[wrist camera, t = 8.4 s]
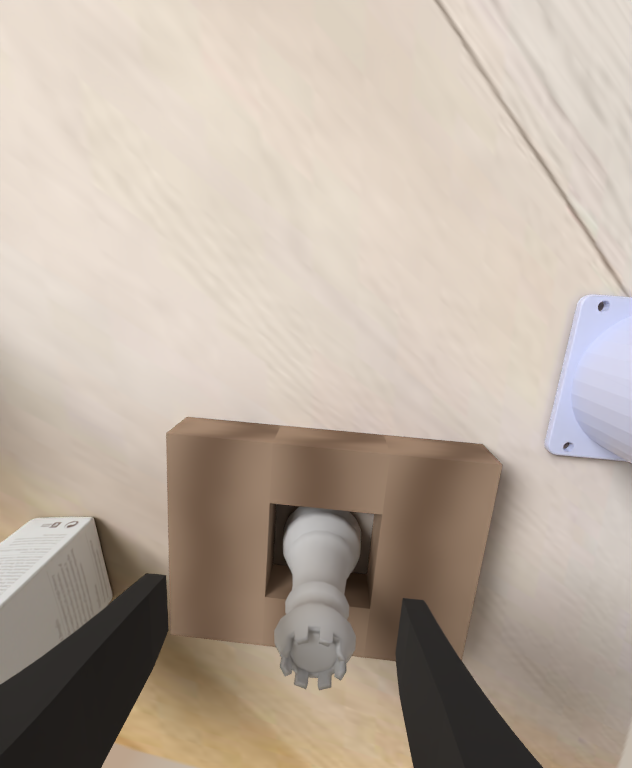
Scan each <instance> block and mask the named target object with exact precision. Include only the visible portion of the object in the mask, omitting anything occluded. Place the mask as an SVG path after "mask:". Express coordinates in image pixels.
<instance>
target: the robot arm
mask: <svg viewBox="0 0 632 768" xmlns="http://www.w3.org/2000/svg"><path fill="white" fill-rule="evenodd" d="M600 302H603V303H604V307H603V309H602V310H601V311H599V310H598V305H599V303H600ZM567 442H569V446H568V447H567V448H565V449H563V446H564V444H565V443H567ZM545 448H546V449H547V450H548V451H549V452H550V453H552V454H555V455H564V456H574V457H585V458H596V459H607V460H618V461H628V462H630V463H631V464H632V297H620V296H607V295H585V296H583V297H582V298H581V299H580V300H579V301H578V304H577V307H576V311H575V315H574V320H573V324H572V328H571V332H570V337H569V341H568V345H567V350H566V354H565V358H564V362H563V367H562V371H561V375H560V379H559V384H558V388H557V392H556V397H555V401H554V405H553V409H552V414H551V418H550V422H549V426H548V431H547V435H546V439H545ZM167 632H168V610H167V588H166V575H158V574H148V573H147V574H145V575H144V576H143V577H142V578H140V579H139V580H138V581H137V582H135V583H134V584H133V585H132V586H130V587H129V588H128V589H127V590H126V591H124V592H123V593H122V594H121V595H120V596H118V597H117V598H116V599H115V600H114V601H112V602H111V603H110V604H109V605H108V606H106V607H105V608H104V609H103V610H101V611H100V612H99V613H98V614H96V615H95V616H94V617H93V618H91V619H90V620H89V621H88V622H86V623H85V624H84V625H83V626H81V627H80V628H79V629H78V630H76V631H75V632H74V633H72V634H71V635H70V636H68V637H67V638H66V639H64V640H63V641H62V642H60V643H59V644H58V645H56V646H55V647H54V648H52V649H51V650H50V651H48V652H47V653H46V654H44V655H43V656H42V657H40V658H39V659H37V660H36V661H35V662H33V663H32V664H30V665H29V666H27V667H26V668H24V669H23V670H22V671H20V672H19V673H17V674H16V675H14V676H13V677H11V678H9V679H8V680H6V681H5V682H3V683H2V684H0V768H101V767H102V765H103V763H104V761H105V759H106V757H107V755H108V753H109V752H110V750H111V748H112V746H113V744H114V742H115V740H116V738H117V736H118V734H119V733H120V731H121V729H122V727H123V725H124V723H125V721H126V719H127V717H128V716H129V714H130V712H131V710H132V708H133V706H134V704H135V702H136V700H137V698H138V696H139V695H140V693H141V691H142V689H143V687H144V685H145V683H146V681H147V679H148V677H149V675H150V673H151V671H152V669H153V667H154V665H155V662H156V660H157V658H158V655H159V653H160V650H161V648H162V645H163V643H164V640H165V637H166V635H167ZM395 655H396V666H397V676H398V686H399V695H400V700H401V706H402V711H403V716H404V721H405V726H406V731H407V737H408V742H409V747H410V752H411V757H412V762H413V767H414V768H543V767H542V766H541V765H540V763H539V762H538V761H537V760H536V759H535V758H534V756H533V755H532V754H531V753H530V752H529V751H528V749H527V748H526V747H525V746H524V744H523V743H522V742H521V741H520V740H519V738H518V737H517V736H516V735H515V733H514V732H513V731H512V730H511V728H510V727H509V726H508V725H507V723H506V722H505V721H504V719H503V718H502V717H501V716H500V714H499V713H498V712H497V710H496V709H495V708H494V706H493V705H492V704H491V702H490V701H489V699H488V698H487V697H486V695H485V694H484V693H483V691H482V690H481V688H480V687H479V686H478V684H477V683H476V681H475V680H474V679H473V677H472V676H471V674H470V673H469V671H468V670H467V668H466V667H465V665H464V664H463V662H462V661H461V659H460V658H459V656H458V655H457V653H456V652H455V650H454V649H453V647H452V645H451V644H450V642H449V641H448V639H447V637H446V636H445V634H444V633H443V631H442V629H441V628H440V626H439V624H438V623H437V621H436V619H435V617H434V616H433V614H432V612H431V611H430V609H429V607H428V605H427V604H426V602H425V601H424V600H419V599H408V598H403V599H402V607H401V614H400V622H399V629H398V637H397V644H396V652H395Z"/></svg>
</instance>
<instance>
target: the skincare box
mask: <svg viewBox="0 0 632 768" xmlns="http://www.w3.org/2000/svg"><path fill="white" fill-rule="evenodd" d="M112 597H113V595H112V591H111V587H110V583H109V579H108V575H107V571H106V567H105V563H104V558H103V554H102V550H101V546H100V541H99V537H98V533H97V529H96V525H95V521H94V518H93V517H47V518H35V519H32V520H30V521H29V522H27V523H26V524H25V525H23V526H22V527H21V528H20V529H18V530H17V531H16V532H14V533H13V534H12V535H10V536H9V537H8V538H7V539H5V540H4V541H3V542H1V543H0V684H2V683H3V682H5V681H6V680H8V679H9V678H11V677H13V676H14V675H16V674H17V673H19V672H20V671H22V670H23V669H24V668H26V667H27V666H29V665H30V664H32V663H33V662H35V661H36V660H37V659H39V658H40V657H42V656H43V655H44V654H46V653H47V652H48V651H50V650H51V649H52V648H54V647H55V646H56V645H58V644H59V643H60V642H62V641H63V640H64V639H66V638H67V637H68V636H70V635H71V634H72V633H74V632H75V631H76V630H78V629H79V628H80V627H81V626H83V625H84V624H85V623H86V622H88V621H89V620H90V619H91V618H93V617H94V616H95V615H96V614H98V613H99V612H100V611H101V610H103V609H104V608H105V607H106V606H108V604H109V603H110V601H111V600H112Z"/></svg>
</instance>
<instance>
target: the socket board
mask: <svg viewBox="0 0 632 768" xmlns="http://www.w3.org/2000/svg"><path fill="white" fill-rule="evenodd" d="M166 445H167V492H168V538H169V585H170V631H171V635H179V636H187V637H196V638H204V639H213V640H221V641H230V642H238V643H247V644H255V645H264V646H272V647H276V646H275V643H274V630H275V629H276V627H277V625H278V623H279V621H280V619H281V618H282V617H283V616H285V615H286V613H285V601H286V599H287V597H288V595H289V593H290V592H291V591H292V587H293V574H292V572H291V570H290V568H289V566H285V565H276V564H273V557H274V539H275V520H276V504H282V505H292V506H302V507H312V508H322V509H332V510H342V511H351V512H361V513H371V514H374V520H373V528H372V536H371V544H370V552H369V560H368V568H367V574H359V573H350V575H349V577H348V578H347V580H346V586H345V593H344V595H345V597H346V600H347V602H348V604H349V617H348V619H347V621H348V622H349V623H350V624H351V626H352V629H353V631H354V633H355V635H356V645H355V651H354V653H353V654H352V656H357V657H365V658H374V659H382V660H391V661H396V655H395V652H396V644H397V637H398V629H399V622H400V614H401V607H402V599H403V598H408V599H419V600H424V601H425V602H426V604H427V605H428V607H429V609H430V611H431V612H432V614H433V616H434V617H435V619H436V621H437V623H438V624H439V626H440V628H441V629H442V631H443V633H444V634H445V636H446V637H447V639H448V641H449V642H450V644H451V645H452V647H453V649H454V650H455V652H456V653H457V655H458V656H459V658H460V659H461V661H462V656H463V652H464V647H465V642H466V637H467V632H468V628H469V623H470V618H471V613H472V609H473V604H474V599H475V594H476V589H477V585H478V580H479V575H480V570H481V565H482V561H483V556H484V551H485V546H486V542H487V537H488V532H489V527H490V522H491V518H492V513H493V508H494V503H495V498H496V494H497V489H498V484H499V479H500V475H501V470H502V464H501V463H500V462H499V461H498V460H497V459H496V458H495V457H494V456H493V455H492V454H491V453H490V452H489V451H488V450H487V448H486V447H485V446H484V445H483V444H475V443H464V442H453V441H442V440H431V439H420V438H410V437H399V436H388V435H377V434H366V433H355V432H345V431H334V430H323V429H312V428H301V427H290V426H280V425H269V424H258V423H247V422H236V421H225V420H214V419H204V418H193V417H186V418H185V419H184V420H182V421H181V422H180V423H179V424H177V425H176V426H175V427H174V428H172V429H171V430H170V431H168V432H167V433H166Z"/></svg>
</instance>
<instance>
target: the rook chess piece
mask: <svg viewBox="0 0 632 768" xmlns="http://www.w3.org/2000/svg"><path fill="white" fill-rule="evenodd" d="M360 551H361V530H360V527H359V525H358V522H357V520H356V518H355V517H354V516H353V515H352V514H351V513H350V512H349V511H342V510H332V509H322V508H312V507H302V506H300V507H299V508H298V509H296V510H295V511H294V512H293V513H292V514H291V515H290V516H289V518H288V520H287V522H286V524H285V526H284V536H283V555H284V557H285V560H286V562H287V564H288V566H289V568H290V570H291V572H292V574H293V587H292V591H291V592H290V593H289V595H288V597H287V599H286V601H285V613H286V615H285V616H283V617H282V618H281V619H280V621H279V623H278V625H277V627H276V629H275V630H274V643H275V646H276V648H277V650H278V652H279V654H280V656H281V663H280V668H281V670H282V672H283V674H284V676H287V675H289V674H291V673H292V670H293V671H294V672H295V682H294V685H297V686H299V687H302V688H304V689H306V688H307V684H308V677H310V678H318V688H319V690H322V689H326V688H330V687H331V676H332V675H333V674H334V673H335V677H336V678H337V679H339V680H342V678H343V676H344V674H345V673H346V663H347V662H348V661H349V659H350V658H351V656H352V654H353V653H354V651H355V645H356V635H355V633H354V631H353V629H352V626H351V624H350V623H349V622H348V621H347V619H348V617H349V604H348V602H347V600H346V597H345V595H344V593H345V586H346V580H347V578H348V577H349V575H350V573H351V572H352V571H353V569H354V568H355V566H356V564H357V562H358V560H359V558H360Z"/></svg>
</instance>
